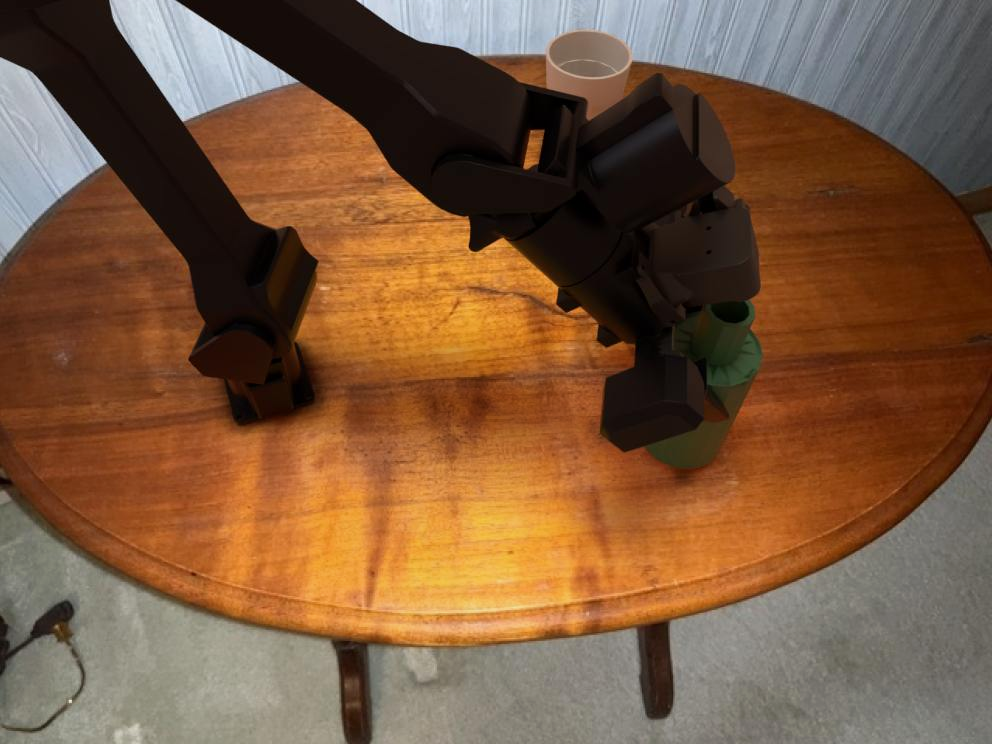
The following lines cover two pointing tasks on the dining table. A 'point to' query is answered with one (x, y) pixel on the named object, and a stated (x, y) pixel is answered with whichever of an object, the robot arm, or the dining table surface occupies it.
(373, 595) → the dining table surface
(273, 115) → the dining table surface
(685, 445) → the bottle
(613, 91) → the cup
